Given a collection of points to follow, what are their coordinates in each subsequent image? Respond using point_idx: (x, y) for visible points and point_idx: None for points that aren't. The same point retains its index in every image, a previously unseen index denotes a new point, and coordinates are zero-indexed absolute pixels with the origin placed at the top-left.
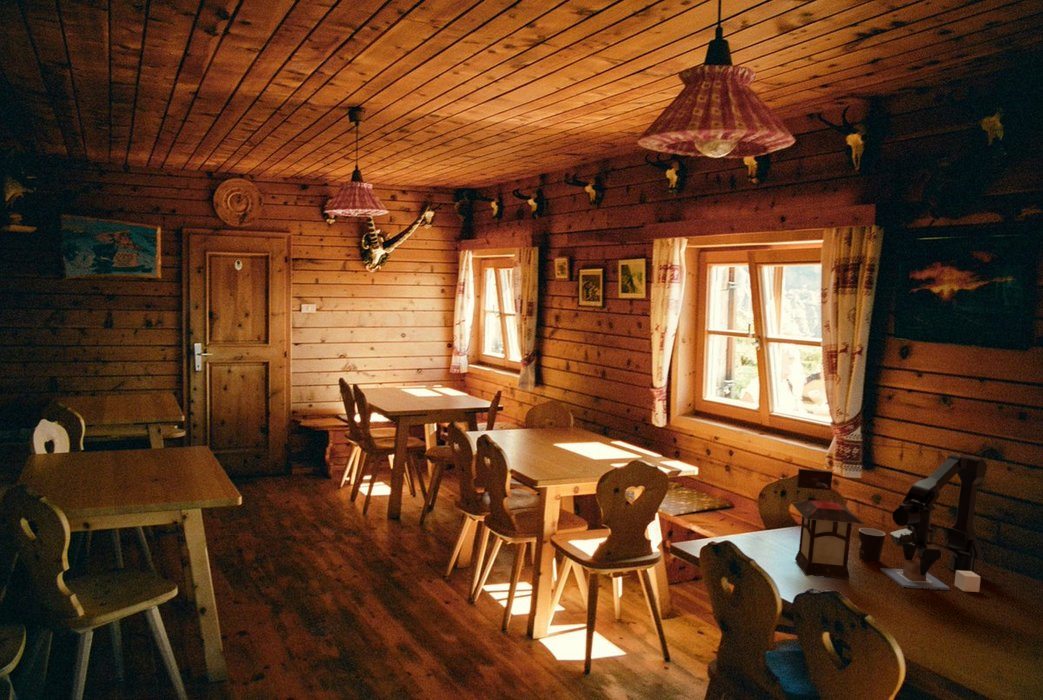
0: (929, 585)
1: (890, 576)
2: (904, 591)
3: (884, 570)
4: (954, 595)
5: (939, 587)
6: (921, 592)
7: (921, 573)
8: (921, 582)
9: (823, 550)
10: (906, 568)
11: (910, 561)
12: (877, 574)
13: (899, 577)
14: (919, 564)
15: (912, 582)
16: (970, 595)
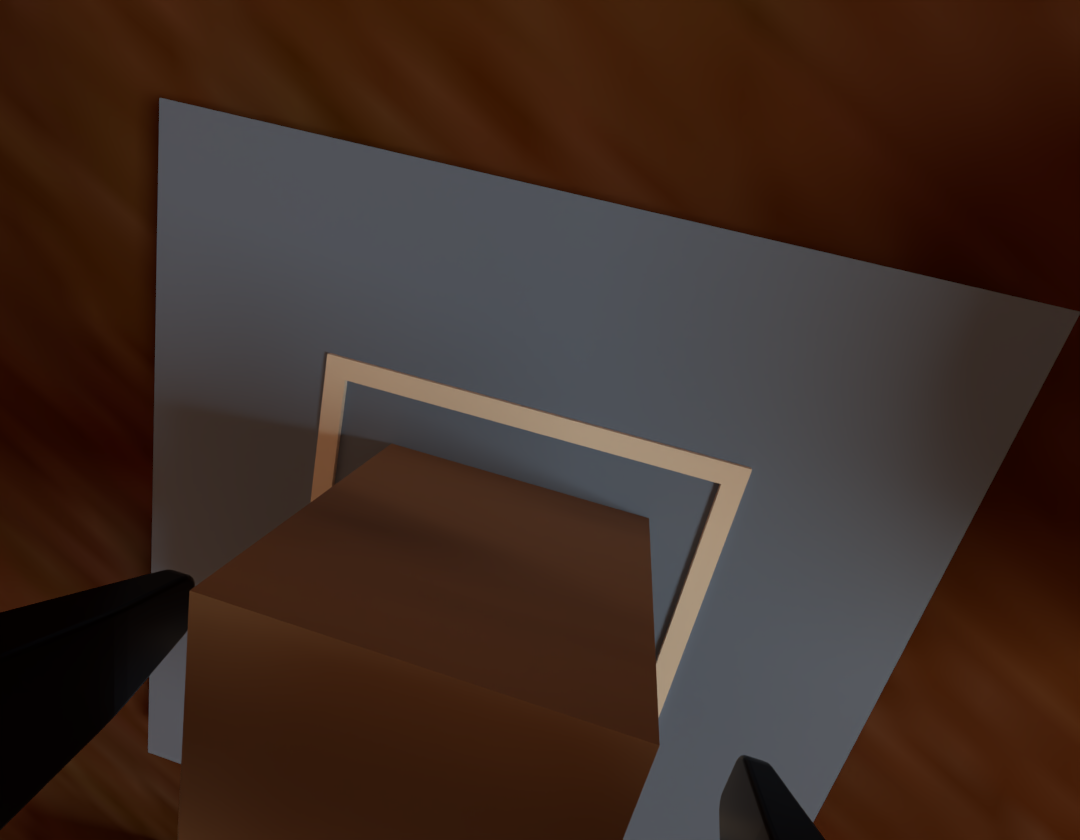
0: (190, 560)
1: (619, 205)
2: (38, 2)
3: (913, 290)
4: None
5: None
6: (48, 291)
7: (129, 582)
8: None
9: None
10: (523, 564)
11: (470, 778)
12: (851, 49)
13: (507, 323)
14: (247, 814)
15: (284, 385)
16: (64, 807)
